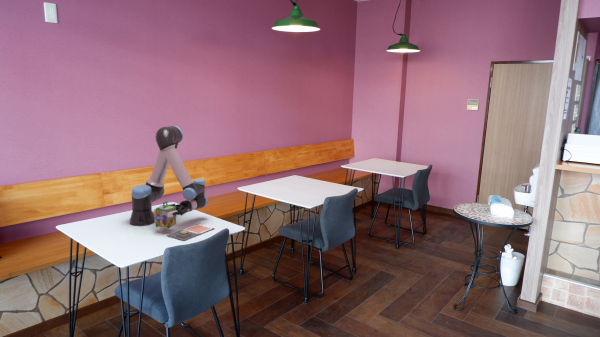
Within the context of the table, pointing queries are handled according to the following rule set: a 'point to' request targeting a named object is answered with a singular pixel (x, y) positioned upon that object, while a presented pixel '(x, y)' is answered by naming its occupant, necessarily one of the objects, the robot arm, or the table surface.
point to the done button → (183, 232)
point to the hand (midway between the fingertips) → (161, 213)
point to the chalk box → (165, 216)
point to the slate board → (191, 232)
